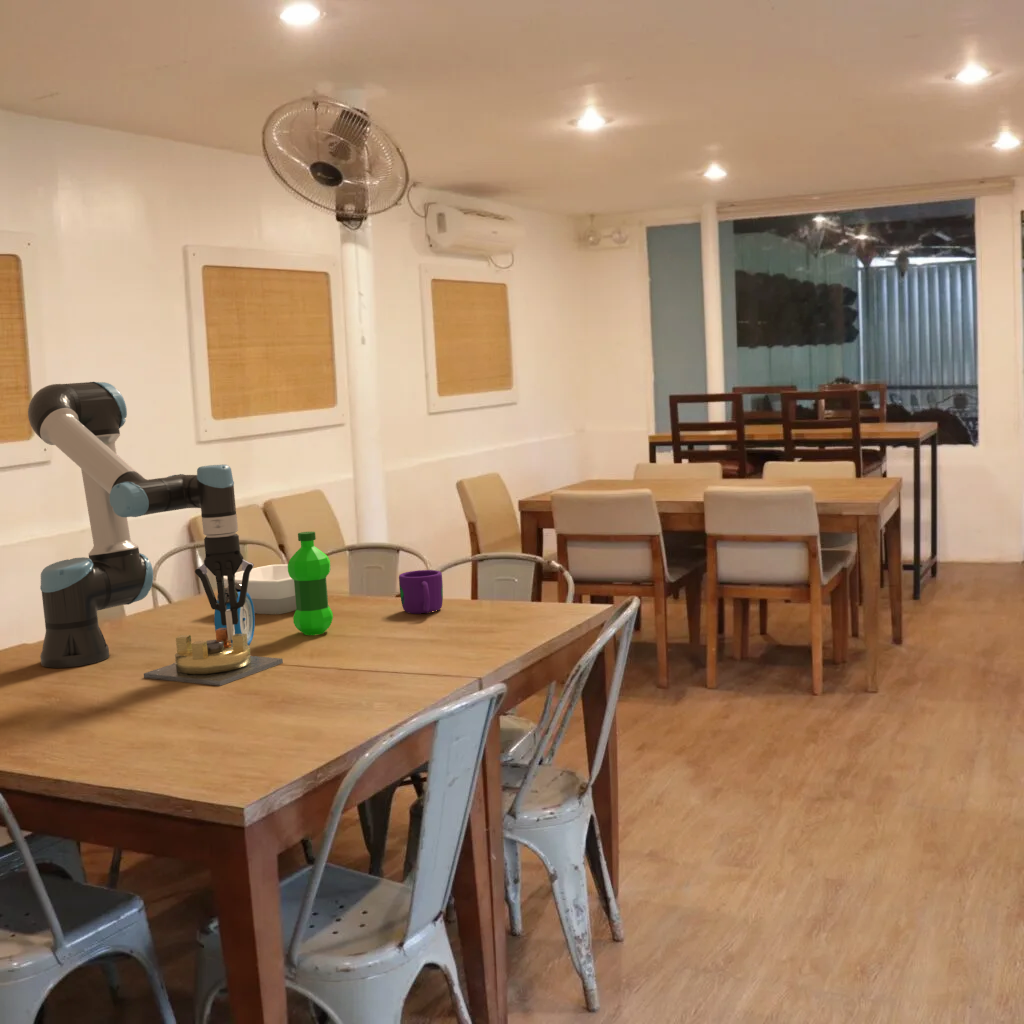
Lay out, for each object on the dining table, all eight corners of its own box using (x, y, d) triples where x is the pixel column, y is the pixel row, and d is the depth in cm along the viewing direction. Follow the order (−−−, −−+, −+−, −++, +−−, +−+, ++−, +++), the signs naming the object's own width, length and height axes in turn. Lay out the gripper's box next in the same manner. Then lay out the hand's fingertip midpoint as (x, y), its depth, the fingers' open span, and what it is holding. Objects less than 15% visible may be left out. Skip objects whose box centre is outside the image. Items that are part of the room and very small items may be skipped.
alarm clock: (241, 653, 284) (236, 589, 282) (215, 654, 285) (210, 590, 283) (257, 640, 297) (252, 579, 295) (232, 641, 298) (227, 580, 296)
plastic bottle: (340, 633, 299) (332, 532, 296) (297, 639, 295) (289, 537, 292) (330, 626, 308) (323, 528, 306) (289, 632, 305) (281, 532, 302)
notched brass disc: (163, 674, 262) (160, 644, 261) (194, 656, 278) (191, 628, 277) (234, 673, 259) (231, 643, 259) (261, 655, 275) (259, 626, 274)
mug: (398, 608, 327) (396, 572, 325) (441, 604, 329) (438, 568, 328) (406, 621, 310) (403, 582, 308) (450, 617, 312) (448, 578, 311)
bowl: (341, 602, 341) (338, 566, 340) (279, 620, 320) (276, 582, 319) (276, 598, 354) (273, 563, 353) (213, 615, 333) (209, 578, 332)
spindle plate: (144, 677, 265) (143, 672, 265) (208, 656, 283) (208, 651, 283) (220, 685, 255) (219, 680, 254) (282, 662, 272) (282, 657, 272)
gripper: (188, 539, 266) (200, 645, 269) (248, 534, 268) (258, 639, 270) (194, 535, 274) (205, 638, 277) (252, 530, 275) (262, 632, 278)
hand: (231, 638), depth 273 cm, fingers closed
